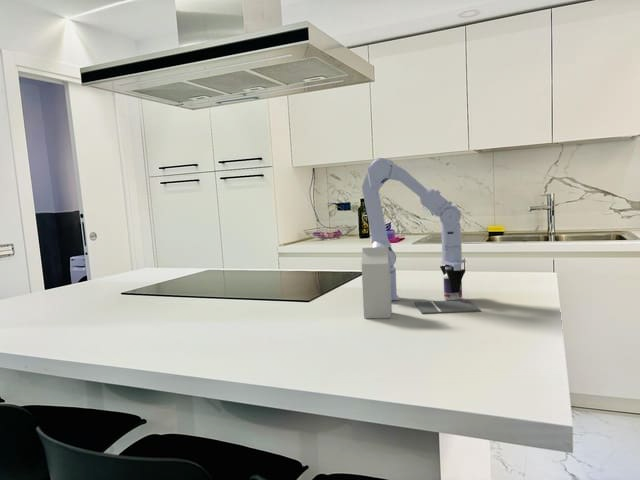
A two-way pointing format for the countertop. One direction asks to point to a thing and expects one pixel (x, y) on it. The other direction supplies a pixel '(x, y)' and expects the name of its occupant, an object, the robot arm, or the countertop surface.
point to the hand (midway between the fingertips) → (452, 290)
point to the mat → (446, 306)
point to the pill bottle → (447, 291)
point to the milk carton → (376, 282)
